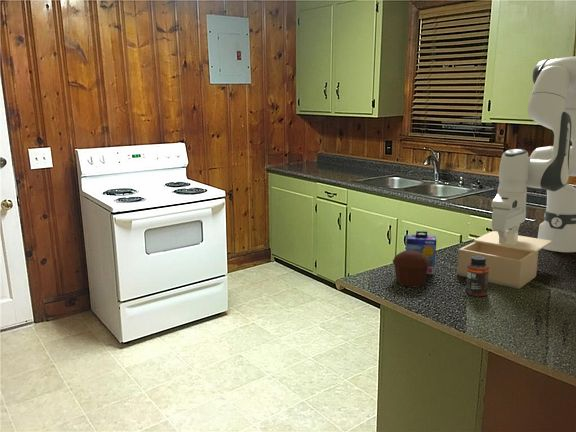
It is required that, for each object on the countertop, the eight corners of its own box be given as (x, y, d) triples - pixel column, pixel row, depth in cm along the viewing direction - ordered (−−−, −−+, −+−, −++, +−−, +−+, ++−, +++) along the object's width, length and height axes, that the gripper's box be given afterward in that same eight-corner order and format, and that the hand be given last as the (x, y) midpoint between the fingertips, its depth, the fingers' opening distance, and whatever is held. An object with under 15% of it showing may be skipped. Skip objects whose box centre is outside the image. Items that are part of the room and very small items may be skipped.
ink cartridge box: (405, 273, 172) (406, 231, 169) (404, 268, 178) (406, 227, 175) (435, 274, 171) (437, 232, 167) (434, 269, 176) (436, 228, 173)
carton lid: (492, 232, 188) (493, 220, 187) (551, 242, 174) (553, 229, 173) (473, 241, 177) (474, 228, 176) (535, 252, 163) (537, 238, 162)
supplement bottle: (485, 290, 156) (488, 255, 153) (488, 297, 150) (491, 261, 148) (465, 289, 157) (467, 253, 155) (467, 296, 152) (469, 259, 149)
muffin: (432, 278, 167) (433, 249, 165) (426, 290, 157) (427, 258, 155) (396, 274, 172) (396, 245, 170) (388, 285, 162) (388, 254, 160)
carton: (476, 264, 181) (478, 239, 179) (536, 276, 167) (538, 250, 165) (457, 274, 170) (458, 249, 168) (518, 288, 157) (521, 261, 155)
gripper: (513, 193, 178) (510, 232, 181) (489, 202, 164) (486, 244, 167) (532, 195, 174) (529, 235, 177) (509, 205, 160) (505, 247, 163)
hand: (508, 239), depth 172 cm, fingers open, 8 cm apart
